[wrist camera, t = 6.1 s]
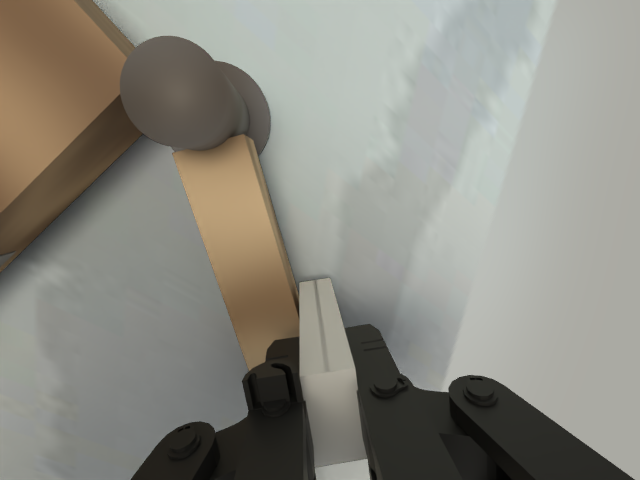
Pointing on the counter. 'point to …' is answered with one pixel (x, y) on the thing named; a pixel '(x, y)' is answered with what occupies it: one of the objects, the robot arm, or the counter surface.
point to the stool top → (68, 110)
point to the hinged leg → (217, 183)
